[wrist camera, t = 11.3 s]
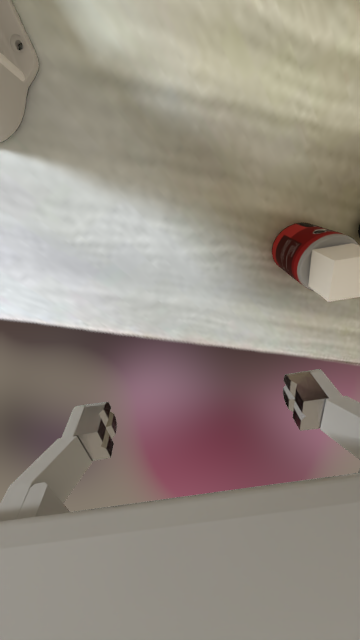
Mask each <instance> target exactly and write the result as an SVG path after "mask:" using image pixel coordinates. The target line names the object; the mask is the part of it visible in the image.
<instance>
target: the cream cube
mask: <svg viewBox="0 0 360 640" xmlns="http://www.w3.org/2000/svg"><path fill="white" fill-rule="evenodd" d="M308 286H309V287H310V288H311V289H313V290H314V291H315V292H317V293H318V294H319V295H320V296H322V297H323V298H324V299H326V300H327V301H328V302H330V301H336V300H343V299H350V298H356V297H360V246H359V245H357V244H354V243H350V244H344V245H338V246H332V247H325V248H319V249H313V250H312V255H311V265H310V275H309V284H308Z"/></svg>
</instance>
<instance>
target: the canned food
mask: <svg viewBox="0 0 360 640" xmlns="http://www.w3.org/2000/svg"><path fill="white" fill-rule="evenodd" d="M350 243H354V244H357V245H358V243H357V242H356V241H355V240H354V239H353V238H351V237H349V236H347V235H344V234H341V233H338V232H335V231H332V230H328V229H325V228H322V227H318V226H315V225H312V224H308V223H298V224H294V225H291V226H289V227H287V228H285V229H284V230H283V231H282V232H280V234H279V235H278V236H277V237H276V239H275V241H274V243H273V247H272V254H273V259H274V261H275V263H276V264H277V265H278V266H279V267H281V268H282V269H283V270H284V271H286V272H287V273H288V274H289V275H291V276H292V277H293V278H294V279H295V280H297V281H298V282H299V283H300V284H302V285H303V286H305V287H306V288H308V289H310V290H312V291H314V290H313V289H311V288H310V287H309V286H308V284H309V275H310V265H311V255H312V250H313V249H319V248H325V247H332V246H338V245H344V244H350Z"/></svg>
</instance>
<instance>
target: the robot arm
mask: <svg viewBox="0 0 360 640" xmlns="http://www.w3.org/2000/svg"><path fill="white" fill-rule="evenodd" d="M19 43H22V45H23V49H22V50H19V49H18V45H19ZM38 69H39V61H38V57H37V55H36V52H35V50H34V48H33V46H32V44H31V42H30V40H29V37H28V35H27V33H26V31H25V29H24V27H23V25H22V22H21V20H20V18H19V16H18V14H17V12H16V10H15V7H14V5H13V3H12V1H11V0H0V142H3V141H5V140H6V139H8V138H9V137H10V136H11V135H12V134H13V133H14V132H15V131H16V130H17V128H18V127H19V125H20V123H21V121H22V118H23V115H24V111H25V105H26V97H27V91H28V88H29V86H30V84H31V83H32V81H33V80H34V78H35V76H36V74H37V72H38ZM284 382H285V384H286V386H285V387H284V388H283V395H284V400H285V402H286V405H287V407H288V409H289V410H291V411H293V419H294V420H295V422H296V424H297V426H298V428H299V430H309V429H318V428H320V430H322V431H323V432H324V433H326V434H327V435H328V436H329V437H331V438H332V439H333V440H335V441H336V442H337V443H339V444H340V445H341V446H342V447H344V448H345V449H346V450H348V451H349V452H351V453H352V454H353V455H354V456H355V457H357V458H358V459H359V460H360V403H359V402H357V401H355V400H353V399H351V398H349V397H347V396H342V395H341V394H340V393H339V391H338V390H337V389H336V388H335V386H334V385H333V384H332V383H331V381H330V380H329V379H328V378H327V376H326V375H325V374H324V373H323V371H322V370H320V369H317V370H311V371H304V372H298V373H292V374H286V375H285V376H284ZM110 409H111V406H110V404H109V403H108V402H104V403H96V404H88V405H82V406H76V407H75V408H74V409H73V411H72V413H71V416H70V418H69V421H68V423H67V426H66V428H65V431H64V433H63V435H62V438H60V439H57V440H56V441H55V442H54V443H53V444H52V445H51V446H50V447H49V448H48V449H47V450H46V451H45V452H44V453H43V454H42V455H41V456H40V457H39V458H38V459H37V460H36V461H35V462H34V463H33V464H32V465H31V466H30V467H29V468H28V469H27V470H25V472H23V473H22V474H21V475H20V476H19V477H18V478H17V479H16V480H15V481H14V482H13V483H12V484H11V485H10V486H9V488H8V490H7V492H6V494H5V496H4V498H3V500H2V502H1V504H0V640H360V470H359V472H358V473H354V474H347V475H340V476H333V477H325V478H317V479H311V480H303V481H296V482H288V483H280V484H273V485H266V486H258V487H251V488H243V489H236V490H229V491H222V492H214V493H207V494H199V495H192V496H185V497H177V498H170V499H163V500H155V501H149V502H141V503H133V504H126V505H118V506H111V507H104V508H97V509H89V510H82V511H74V512H70V511H69V510H68V509H67V507H66V506H65V505H64V504H63V503H64V502H65V500H66V499H67V497H68V496H69V495H70V493H71V492H72V490H73V489H74V488H75V486H76V485H77V483H78V482H79V480H80V479H81V477H82V476H83V475H84V473H85V472H86V471H87V469H88V468H89V466H90V465H91V463H92V461H95V460H101V459H107V458H111V455H112V449H113V445H114V443H113V441H112V438H113V437H114V436H115V434H116V428H117V422H116V417H115V415H114V414H113V413H112V412H110Z"/></svg>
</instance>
